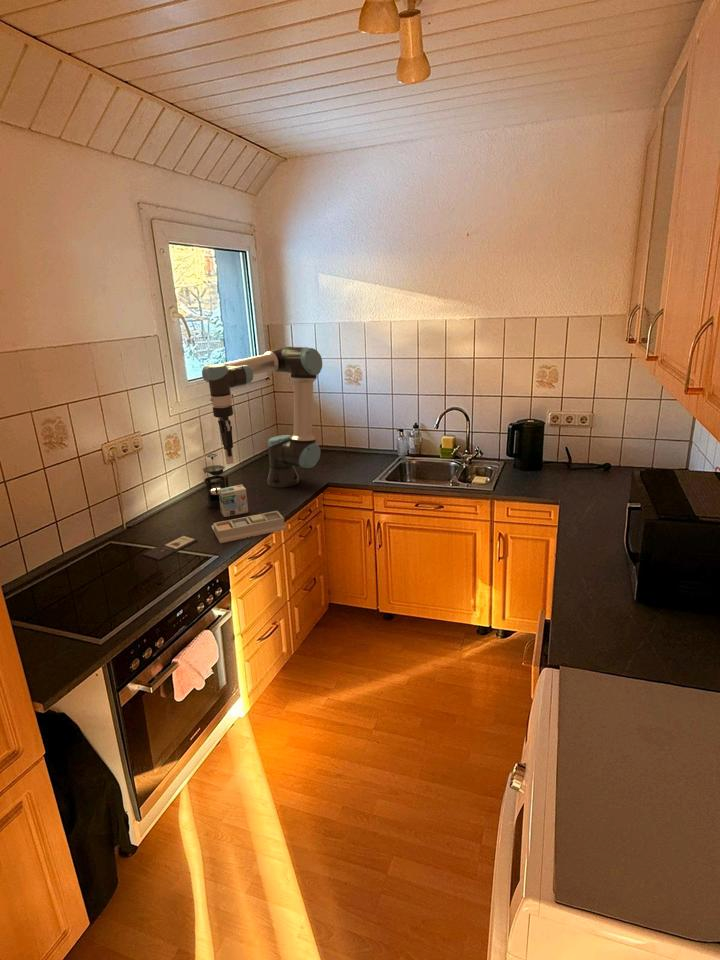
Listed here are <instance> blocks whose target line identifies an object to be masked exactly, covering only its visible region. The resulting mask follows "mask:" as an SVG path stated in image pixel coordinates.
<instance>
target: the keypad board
mask: <svg viewBox="0 0 720 960" xmlns="http://www.w3.org/2000/svg"><path fill="white" fill-rule="evenodd" d="M276 514H277V515H278V516H279V518H278V519H273V520H268V519H267V518H266V516H271V515H276ZM256 515H262V517H263V518H264V521H263V522H258V523H253V524H252V522H251V521H250V517H251V516H256ZM241 521H246V523H247V524H248V525H243V526H238V527H235V525H234V523H236V522H241ZM226 524H229V525H230V527H231V528H228V529H223V530H219V528H218V527H217V526H221V525H226ZM211 530H213V532H214V534H215V536H216V538H217V540H218V542H219V544H223V543H227V542H228V543H229V542H233V541H238V540H242V539H247V537H248V538H252V537H256V536H261V535H265V534H270V533H276V532H279V531H284V530H287V526H286V525H285V517H284V516H283V515H282V514H281V513H280V511H278V510H273V511H269V512H264V513H259V514H254V515H248V516H244V517H239V518H233V519H228V520H222V521H218V522H213V524H212V525H211ZM251 536H252V537H251Z"/></svg>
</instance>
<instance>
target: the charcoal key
mask: <svg viewBox="0 0 720 960" xmlns="http://www.w3.org/2000/svg"><path fill="white" fill-rule="evenodd" d="M266 518H267V519H268V520H273V519H278V518H279V516H278V515H277V514H276V515H271V516H266Z"/></svg>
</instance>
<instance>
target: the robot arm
mask: <svg viewBox="0 0 720 960" xmlns="http://www.w3.org/2000/svg"><path fill="white" fill-rule="evenodd" d="M322 369H323V358H322V355H321V354H320V352H319V351H318V350H317V349H316V348H313V347H307V346H305V347H303V346H302V347H301V346H298V347H297V346H285V347H280V348H276V349H273V350H268V351H265V352H264V354H259V355H255V356H251V357H250V356H249V357H247V358H240V359H237V360H232V361H227V362H224V363H223V362H222V363H217V364H213V363H211V364H206V365H204V367H203V368H202V370H201V375H202V378H203V380H204V381H205V382H206V383H208V386H209V392H210V399H209V401H210V402H211V405H212V413H213V414H212V415H213V417H215V418H218V419H219V420H217V423H218V426H219V431H220V437H221V442H222V445H223V450H224V455H225V456H224V457H225V462H226V465H232V464H235V460H234V454H233V453H234V452H233V448H234V442H233V426H232V423H231V422H232V421H231V420H230V419H229V417H231V416H233V415H234V410H233V405H232V404H233V400H232V399H233V398H232V393H231V389H233V388H237V387H240V386H246V385H248V384H251V383H252V382H253V379H254V376H255V375H260V374H263V373H267V372H268V373H270V374H272V373H289V374H290V378H291V380H292V381H293V434H292V435H290V434H282V435H277V436H272V437H270V438H269V439H268V441H267V450H268V451H267V452H268V460H269V471H268V475H267V485H268V486H269V487H272V488H282V489H283V488H290V487H293V486H296V485H298V484H299V482H300V479H299V474H298V472H297V470H296V466H297V467H300V468H307V469H308V468H309V469H310V468H313V467H315V465H317V463H318V462H319V460H320V457H321V447H320V445H319V444H317V443H316V437H315V436H314V434H313V422H314V421H313V419H314V416H313V414H314V413H313V411H314V410H313V409H314V406H313V405H314V382H315V381H316V380H317V377H318V375H319V374H320V373H321V371H322Z"/></svg>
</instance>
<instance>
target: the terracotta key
mask: <svg viewBox="0 0 720 960" xmlns="http://www.w3.org/2000/svg"><path fill="white" fill-rule="evenodd" d="M217 527H218V528H219V530H223V529H228V528H231V527H230V525H229V524H226V525H221V526H217Z"/></svg>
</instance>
